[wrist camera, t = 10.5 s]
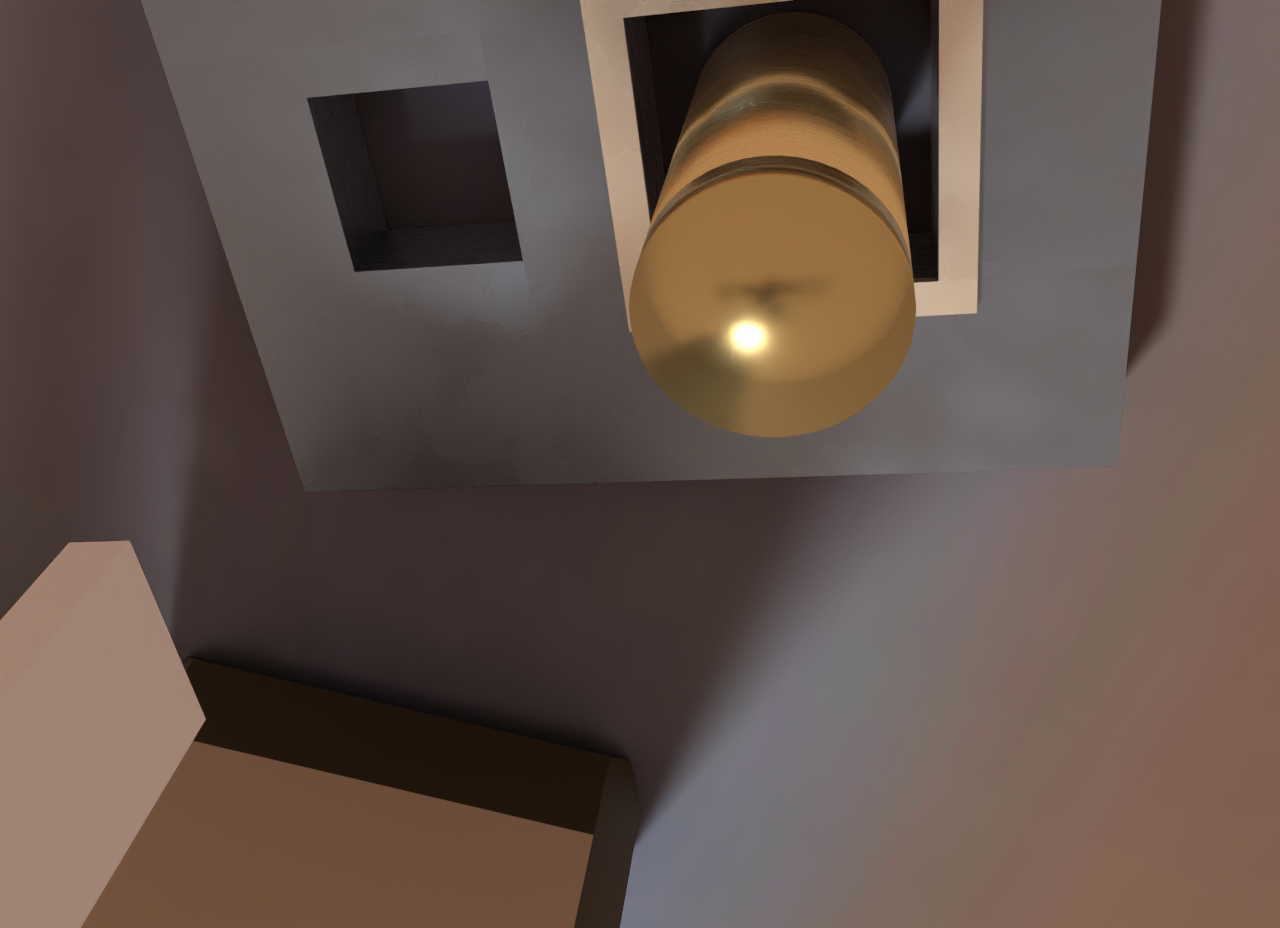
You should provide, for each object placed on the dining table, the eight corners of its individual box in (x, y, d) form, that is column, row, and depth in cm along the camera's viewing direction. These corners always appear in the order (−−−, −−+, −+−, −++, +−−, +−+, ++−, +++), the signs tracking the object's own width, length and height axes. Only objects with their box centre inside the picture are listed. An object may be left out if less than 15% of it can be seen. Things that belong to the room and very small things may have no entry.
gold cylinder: (703, 215, 29) (648, 442, 20) (682, 22, 26) (609, 191, 18) (894, 201, 28) (917, 431, 20) (890, 1, 25) (914, 166, 17)
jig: (337, 440, 34) (258, 563, 29) (136, -215, 25) (-21, -188, 21) (1098, 411, 30) (1143, 545, 25) (1162, -370, 21) (1249, -378, 17)
